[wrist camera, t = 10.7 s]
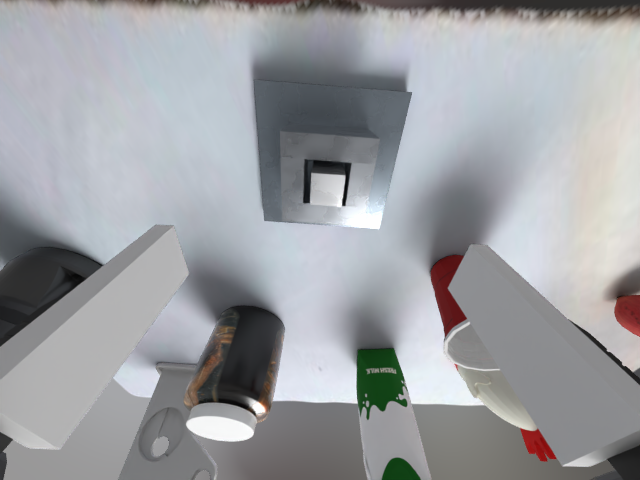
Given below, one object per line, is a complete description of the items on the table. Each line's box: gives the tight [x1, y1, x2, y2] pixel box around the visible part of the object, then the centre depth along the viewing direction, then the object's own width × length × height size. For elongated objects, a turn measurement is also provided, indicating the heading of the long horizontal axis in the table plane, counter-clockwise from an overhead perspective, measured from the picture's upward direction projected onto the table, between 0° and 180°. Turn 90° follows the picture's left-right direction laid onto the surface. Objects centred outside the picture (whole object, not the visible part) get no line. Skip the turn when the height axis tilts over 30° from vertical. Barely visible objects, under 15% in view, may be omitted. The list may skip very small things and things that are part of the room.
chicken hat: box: [455, 364, 556, 461], centre depth 38 cm, size 14×14×15 cm
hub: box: [280, 123, 380, 226], centre depth 21 cm, size 8×8×6 cm
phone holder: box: [118, 362, 218, 480], centre depth 44 cm, size 17×10×18 cm, turn 85°
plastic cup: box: [431, 255, 500, 371], centre depth 28 cm, size 11×11×12 cm
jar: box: [184, 306, 285, 441], centre depth 35 cm, size 12×12×15 cm
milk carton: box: [357, 348, 432, 480], centre depth 38 cm, size 9×9×20 cm
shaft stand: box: [254, 80, 412, 229], centre depth 21 cm, size 14×14×8 cm
